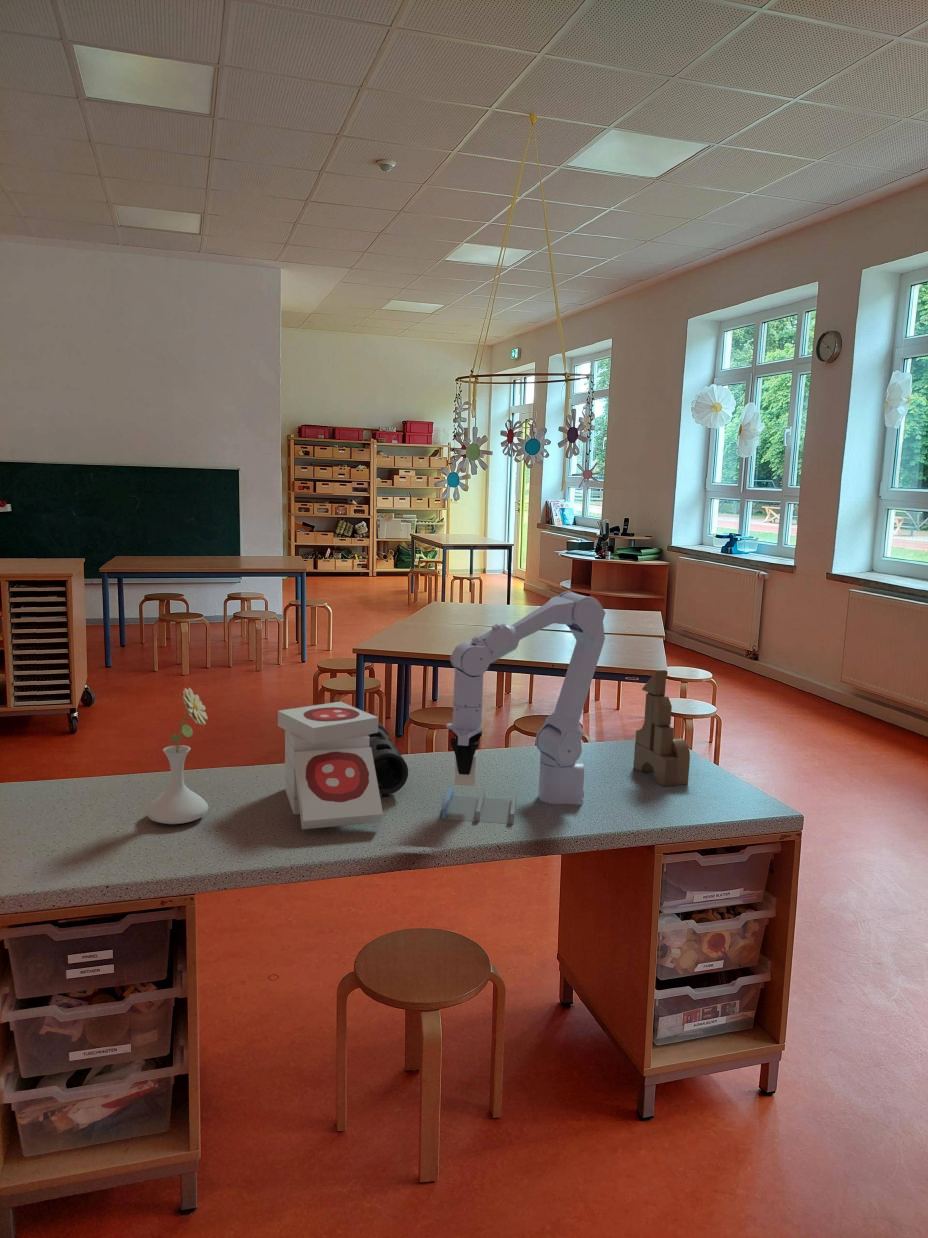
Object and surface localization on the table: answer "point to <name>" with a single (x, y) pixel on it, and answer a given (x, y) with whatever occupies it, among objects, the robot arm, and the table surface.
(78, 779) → the table surface
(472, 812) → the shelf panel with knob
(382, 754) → the muzzle brake
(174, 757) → the flower in vase
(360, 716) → the pizza boxes
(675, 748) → the wooden toy
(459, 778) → the plug
